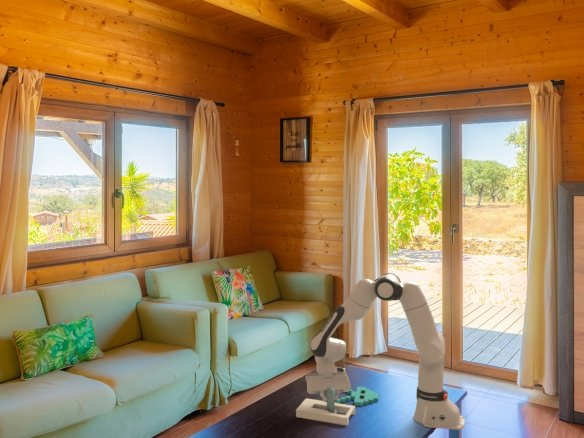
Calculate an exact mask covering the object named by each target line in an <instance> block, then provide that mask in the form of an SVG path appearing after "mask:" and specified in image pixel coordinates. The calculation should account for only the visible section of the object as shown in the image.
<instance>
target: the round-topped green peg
mask: <svg viewBox="0 0 584 438" xmlns="http://www.w3.org/2000/svg"><path fill="white" fill-rule="evenodd" d="M335 396H336V394H335V389H334V388H327V393H326V397H327V409H326V410H328V411H329V412H330V413H336V414H338V413H337V411H336V410H334V408H335V402H336V401H335Z"/></svg>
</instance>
